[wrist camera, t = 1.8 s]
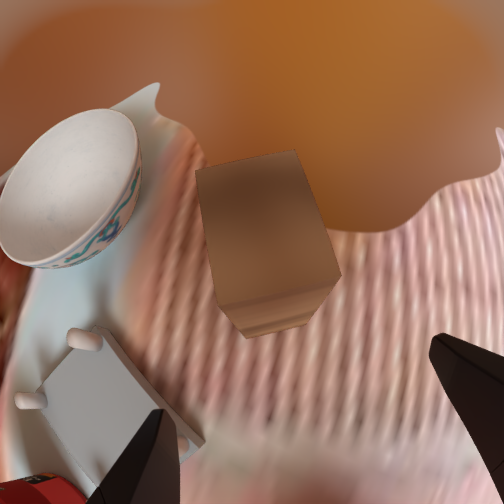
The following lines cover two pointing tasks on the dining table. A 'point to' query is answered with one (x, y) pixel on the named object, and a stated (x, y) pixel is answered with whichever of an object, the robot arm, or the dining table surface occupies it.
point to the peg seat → (100, 403)
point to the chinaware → (72, 191)
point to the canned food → (40, 491)
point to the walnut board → (265, 242)
